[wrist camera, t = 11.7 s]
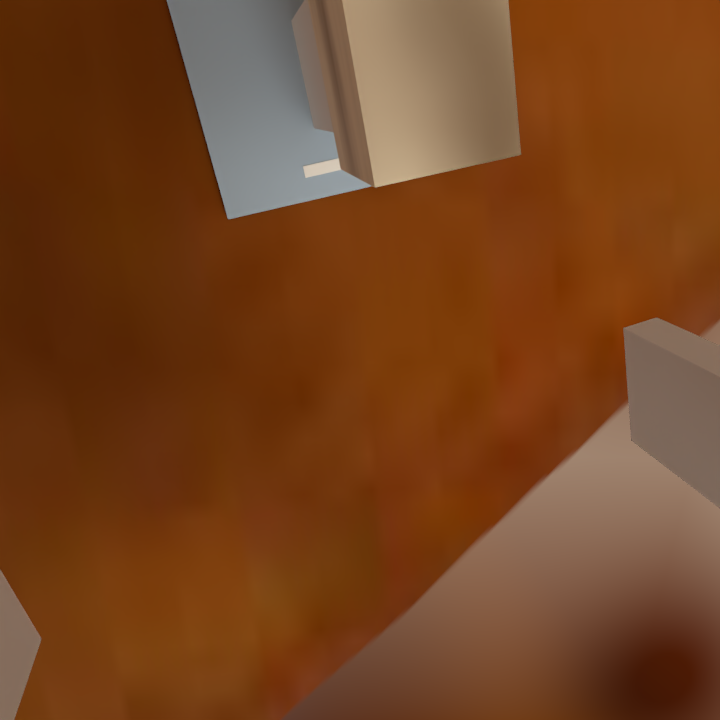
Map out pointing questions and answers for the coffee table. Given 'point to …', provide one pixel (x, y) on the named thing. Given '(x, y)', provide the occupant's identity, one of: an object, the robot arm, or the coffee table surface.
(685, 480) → the robot arm
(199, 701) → the coffee table surface
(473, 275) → the coffee table surface
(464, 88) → the maple beam
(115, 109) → the coffee table surface
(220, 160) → the blueprint board
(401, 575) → the coffee table surface
